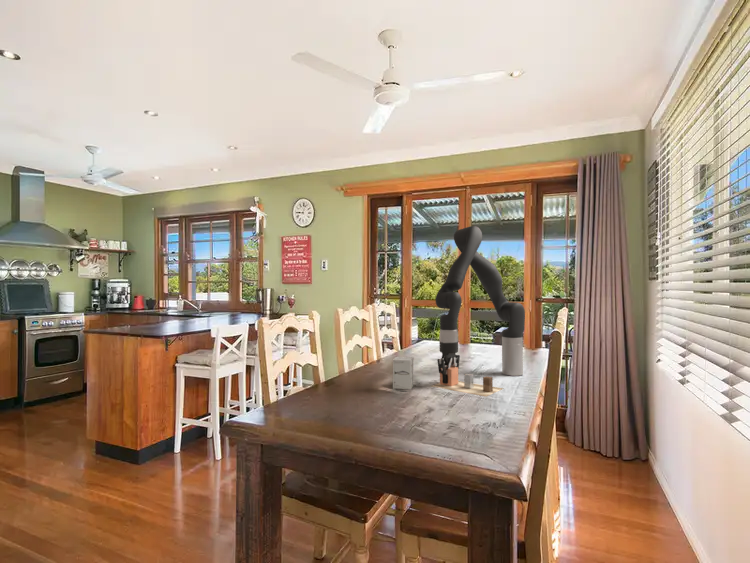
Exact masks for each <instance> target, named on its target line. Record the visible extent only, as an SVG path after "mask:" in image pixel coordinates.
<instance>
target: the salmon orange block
mask: <svg viewBox="0 0 750 563" xmlns="http://www.w3.org/2000/svg"><path fill="white" fill-rule="evenodd" d="M441 370H442V368H441ZM445 371H446V368H445ZM442 380H443V378H442V374H441V373H439V383H440V384H442V385H448V386H453V385H456V384H458V381H459V369H458V367H450V369H448V384H444V383H443V381H442Z"/></svg>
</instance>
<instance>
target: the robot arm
mask: <svg viewBox="0 0 750 563" xmlns="http://www.w3.org/2000/svg"><path fill="white" fill-rule="evenodd" d="M453 241H454V244H455V246H456V247H457V249H458V250H459V252H460V254H459V256H458V257H457V258H456V259H455V261H454V262H453V263H452V265H451V267H450V268H449V270H448V272H447V273H448V274H447V277H446V279H445V282H444V283H443V284H442V285H441V287H440V288H439V290H438V291H437V294H436V296H435V304H436V306H437V308H438V309H443V310H445V309H447V310H448V312H447V313H446V314H442V315H441V316H440V317H439V352H440V353H441V358H437V368H438V369H437V370H438V373H439V374H440V373H441V374H442V378H443V380H442V381H443V383H444V384H448V369H450V367H458V370H460V358H461V356H460V354H458V353H459V332H458V319H459V315H460V310H461V307H462V296H461V294H460V293H459V292H457V291H459V290H461V289H462V287H463V284H464V281H465V277H466V275H467V272H468V271H469V267H471V268H472V270H473V272H474V273H475V275H476V276H477V278H478V280H479V282H480V283H481V285H482V286H483V288H484V289H485V292H486V294H487V295H488V297H489V299H490V301H491V302H492V305H493V307H494V309H495V311H496V314H497V315H498V317H499V318H500V320H502V321H503V322H507V323H508V327H507V328H506V329H503V330H502V331H501V371H502V372H501V373H502V375H505V376H512V377H517V376H523V375H524V361H523V360H524V345H523V344H524V339H523V338H524V337H523V336H524V332H525V323H526V322H525V320H526V311H525V307H524V306H523V304H522V303H520V302H513V301H508V299H507V298H506V296H505V295H504V293H503V292H504V291H503V277H502V275H501V274H500V272H499V270H498V268H497V266H496V265H495V264H494V263H493V262H491V261H490V260H489V259H487V258H485V257H484V256H482V255H481V254H480V252H478V250H479V248H480V246H481V244H482V241H483V233H482V230H481V229H480V228H479V227H478V225H477V226H476V225H471V226H467V227H464V228H460V229H458V230H456V231H455V232H454V234H453ZM441 368H442V370H441ZM445 368H446V371H445Z"/></svg>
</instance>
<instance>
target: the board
mask: <svg viewBox="0 0 750 563" xmlns="http://www.w3.org/2000/svg"><path fill="white" fill-rule="evenodd" d="M473 386H474V388H471V389H468V388H464V381H461V380H458V384H456V385H453V386H448V385H442V384H440V382H438V383H435V384H433V385H431V388H438V389H444V390H448V391H449V390H450V391H454V392H457V393H464V394H465V393H466V394H469V395H476V396H480V397H485V398H487V397H490V396H491V395H494V394H495V393H497V392H499V391H503V389H504V388H503V387H496V386H493V391H492V392H485V391H483V384H480V383H475V382H473Z"/></svg>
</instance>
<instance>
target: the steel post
mask: <svg viewBox="0 0 750 563" xmlns="http://www.w3.org/2000/svg"><path fill="white" fill-rule="evenodd" d="M463 378H464V380H463V382H464V388H468V389H471V388H474V386H473V383H474V373H465V374H463Z"/></svg>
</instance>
